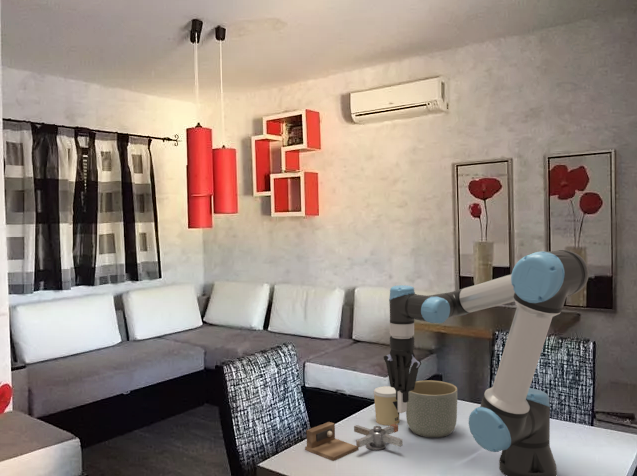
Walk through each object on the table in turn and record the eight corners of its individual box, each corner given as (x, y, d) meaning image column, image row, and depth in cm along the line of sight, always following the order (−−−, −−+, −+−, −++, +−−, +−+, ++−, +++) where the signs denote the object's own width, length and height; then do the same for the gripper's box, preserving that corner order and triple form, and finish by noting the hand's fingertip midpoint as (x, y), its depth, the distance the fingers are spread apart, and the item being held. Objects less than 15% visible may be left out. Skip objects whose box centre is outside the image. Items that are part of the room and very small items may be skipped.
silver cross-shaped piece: (419, 446, 181) (419, 426, 181) (382, 464, 168) (381, 443, 168) (374, 431, 194) (374, 413, 193) (336, 447, 181) (335, 428, 181)
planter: (403, 441, 188) (402, 393, 187) (408, 422, 204) (407, 379, 204) (457, 445, 184) (457, 396, 183) (458, 426, 200) (457, 381, 200)
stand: (398, 450, 181) (398, 427, 180) (352, 471, 166) (352, 447, 166) (351, 434, 195) (350, 413, 194) (305, 453, 180) (304, 430, 180)
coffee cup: (400, 429, 198) (399, 394, 197) (372, 428, 200) (372, 393, 199) (402, 420, 207) (401, 386, 207) (375, 418, 209) (375, 385, 208)
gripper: (426, 337, 179) (426, 413, 180) (392, 331, 188) (393, 404, 189) (412, 341, 173) (412, 420, 174) (377, 334, 183) (378, 409, 184)
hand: (402, 411), depth 182 cm, fingers closed
